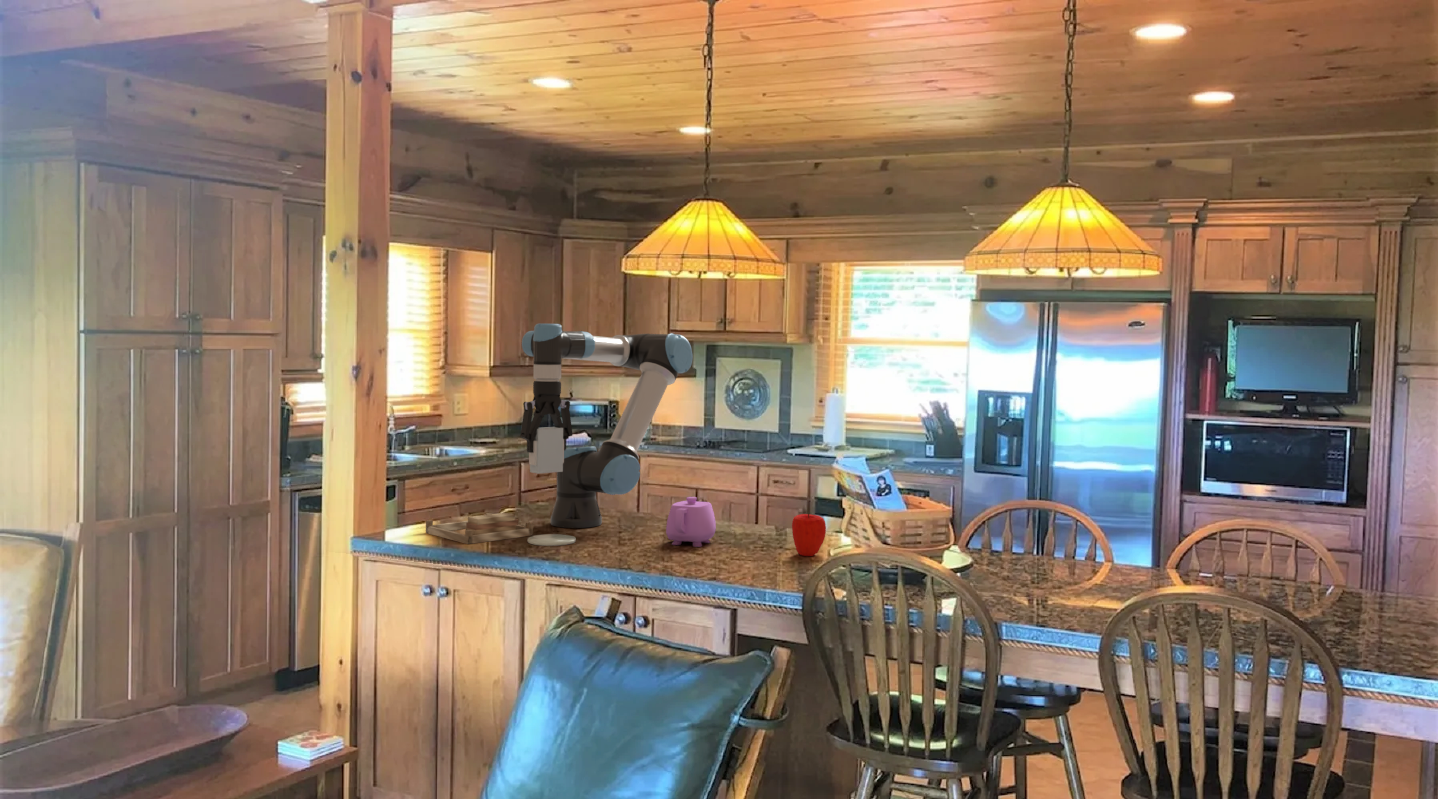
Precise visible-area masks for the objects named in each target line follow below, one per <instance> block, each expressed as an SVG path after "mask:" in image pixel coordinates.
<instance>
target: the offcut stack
mask: <svg viewBox="0 0 1438 799" xmlns="http://www.w3.org/2000/svg"><path fill="white" fill-rule="evenodd" d="M467 521H468V523H466V529H465V530H472V535H479V534H487V533H494V532H502V531H510V530H516V525H519V519H518V518H516V517H515V514H512V513H509V512H500V513H491V514H489V515H485V514H484V515H483V514H482V515H475V516H474V515H472V516H468V517H467Z"/></svg>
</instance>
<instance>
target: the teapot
mask: <svg viewBox="0 0 1438 799" xmlns="http://www.w3.org/2000/svg"><path fill="white" fill-rule="evenodd" d="M685 499H686V500H682V501H677V502H674V503H673V504H671V505H670V506H671V507H670V510H669V513H668V517H667V520H666V528H665V530H666V531H665V533H666V536H667V538H668V540H670V541H672V542H671V545H673V546H681V545H682V542H690V543H691V542H692V547H694V548H702V547H703V544H710V543H711V541H710V540H711V539H712V538H713V537H714V536H715V533H716V529H717V528H716V526H717V523H716V518H715V516H716V515H715V512H714V509H713V506H712V503H711V502H709V501H697V497H696V496H687V497H685ZM702 543H703V544H702Z"/></svg>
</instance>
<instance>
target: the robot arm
mask: <svg viewBox="0 0 1438 799" xmlns="http://www.w3.org/2000/svg"><path fill="white" fill-rule="evenodd" d="M562 327H563V326H562V325H561V324H560V323H536V324H535V325H534V327H533V328H534V329H533V330H529V331H526V333H524V335H523V337H522V339H521V348H522V350H523V353H524V354H526V356H528V357H533V379H534V381H533V382H532V385H533V386H532V387H533V388H532V390H533V392H532V393H533V398H532V400H531V401H523V416H522V420H521V421H522V422H521V428H520V437H519V438H521V439H524V440H525V441H526V452H527V453H528V464H529V465H530V464H531V465H537V441H534V439H535V437H536V434H537V429H539V428H540V426H541V423H542V421H543V419H544V418H545V416H547V415H549V416H550V417H551V420H552V422H553V424H554V425H553V426H554V427H557V428H563V472H556V500H555V503H554V505H553V509H552V513H551V515H550V525H551V526H553V527H557V528H567V529H568V528H569V529H581V528H583V529H585V528H593V527H598V526H601V525H602V522H603V521H602V520H603V518H602V517H603V516H602V514H601V510H600V507H599V503H598V500H597V493H601V494H607V495H612V496H613V495H614V496H615V495H625V494H628V493H629V492H631V491H632V490H633V489H634V488H635V487H636V486H637V485H638V482H639V479H640V477H641V471H640V470H641V465H640V463H639V460H640V456H639V453H638V450H639V448H640V446H641V443H642V442H643V439H644V436H645V435H646V433H647V430H648V428H649V426H650V425H651V422H652V419H653V417H654V416H655V413H656V411H657V409H658V406H659V405H660V403H661V402H662V401H661V400H662V398H663V396H664V393H665V392H666V390H667V387H668V386H670V385H673V384H674V383H675V382H676V379H677V378H678V376H679V374H684V373H687V372H688V371H689V370H690V369H691V366H692V364H693V355H694V354H693V350H692V346H691V343H690V342H689V339H687V338H686V337H685V336H684V335H681V334H677V333H676V334H675V333H673V332H672V333H637V334H615V335H614V336H612V337H611V336H610V337H609V336H608V337H607V336H598V335H592V334H591V333H590V332H588V331H583V330H576V331H575V330H563V328H562ZM563 359H564V360H566V359H567V360H578V361H589V362H603V363H604V362H605V363H610V364H611V365H613V366H615V367H622V368H628V369H632V370H637V371H640V372H641V375H640V377H639V378H638V381H637V383H636V385H635V388H634V389H633V391H632V393H631V395H630V398H629V399H628V402H627V403H626V406H625V408H624V410H623V412H622V414H621V416H620V419H619V420H618V422H617V424H616V427H615V428H614V431H613V432H612V435H611V437H610V439H607V440H604V441H603V442H602V444H601V446H600V448H599V450H598V449H597V447H596V446H595V445H593V446H591V445H589V446H580V447H567V440H568V439H569V438H570V437H572V436H573V427H572V426H573V425H572V421H571V420H572V419H571V413H570V406H571V401H570V400H562V399H561V394H562V382H561V381H560V380H561V379H562V361H563ZM559 407H560V410H559ZM533 410H534V412H533Z"/></svg>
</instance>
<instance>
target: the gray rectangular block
mask: <svg viewBox="0 0 1438 799" xmlns="http://www.w3.org/2000/svg"><path fill="white" fill-rule="evenodd" d="M534 441H537V465H531V464H529V473H532V474H550V473H557V472H563V428H557V427H555V426H548V427H539V429H537V434H536V437H535V439H534Z"/></svg>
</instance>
